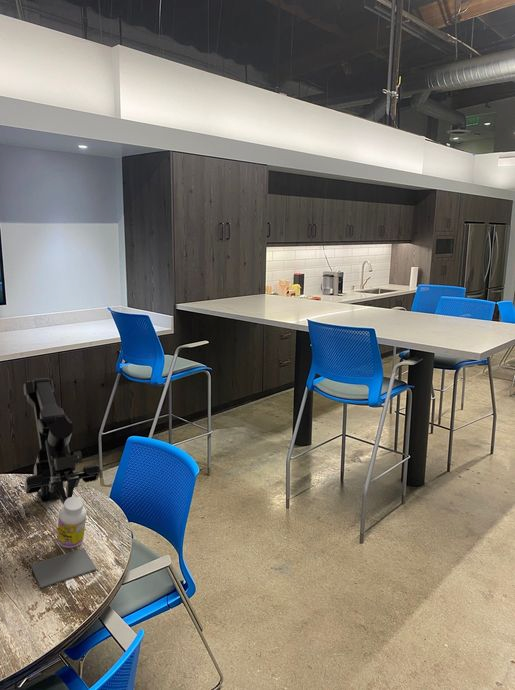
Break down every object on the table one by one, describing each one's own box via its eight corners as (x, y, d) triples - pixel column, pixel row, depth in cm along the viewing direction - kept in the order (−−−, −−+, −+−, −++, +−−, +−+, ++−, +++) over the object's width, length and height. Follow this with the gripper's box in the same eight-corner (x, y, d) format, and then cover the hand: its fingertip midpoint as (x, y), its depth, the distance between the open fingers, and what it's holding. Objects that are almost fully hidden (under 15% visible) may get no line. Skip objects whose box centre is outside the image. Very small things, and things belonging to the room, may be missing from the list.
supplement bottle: (51, 539, 138) (53, 503, 132) (71, 525, 143) (74, 489, 137) (69, 553, 135) (72, 517, 130) (89, 538, 141) (93, 502, 135)
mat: (30, 565, 129) (30, 563, 129) (83, 549, 137) (83, 547, 137) (40, 588, 121) (40, 586, 121) (96, 570, 129) (96, 568, 129)
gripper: (24, 448, 135) (33, 506, 128) (98, 436, 144) (110, 490, 137) (21, 465, 143) (29, 521, 136) (91, 453, 152) (102, 505, 145)
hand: (68, 509), depth 138 cm, fingers closed
